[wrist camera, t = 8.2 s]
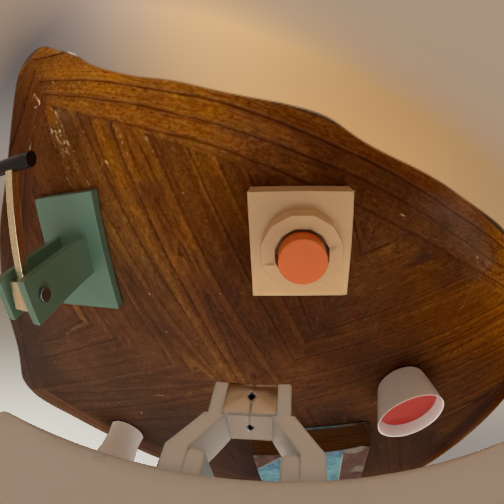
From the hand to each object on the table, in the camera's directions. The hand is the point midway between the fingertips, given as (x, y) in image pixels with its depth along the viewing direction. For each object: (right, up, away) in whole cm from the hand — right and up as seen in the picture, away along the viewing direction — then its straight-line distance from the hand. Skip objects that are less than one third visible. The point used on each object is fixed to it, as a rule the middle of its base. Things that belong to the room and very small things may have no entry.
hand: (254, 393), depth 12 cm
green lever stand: (-20, +6, +21) cm, 30 cm away
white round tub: (+20, -12, +24) cm, 34 cm away
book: (+11, -31, +34) cm, 47 cm away
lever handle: (-21, +8, +11) cm, 25 cm away
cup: (-24, -28, +36) cm, 52 cm away
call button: (+4, +7, +17) cm, 19 cm away
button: (+4, +6, +14) cm, 16 cm away
